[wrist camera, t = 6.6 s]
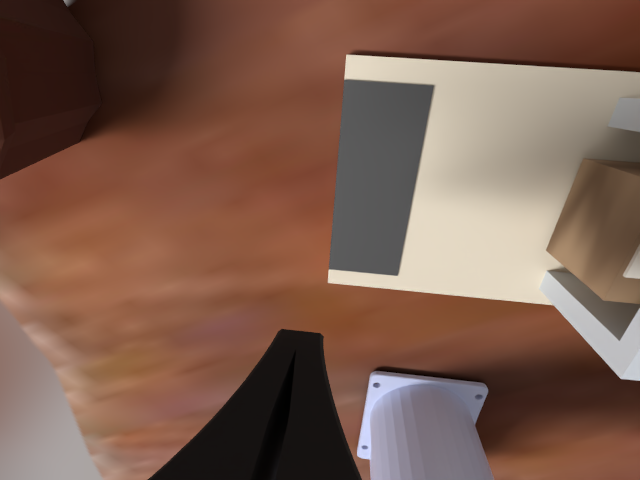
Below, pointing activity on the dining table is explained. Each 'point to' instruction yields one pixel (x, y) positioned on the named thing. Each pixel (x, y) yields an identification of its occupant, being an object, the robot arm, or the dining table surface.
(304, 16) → the dining table surface
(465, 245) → the tunnel
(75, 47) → the muffin
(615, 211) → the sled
